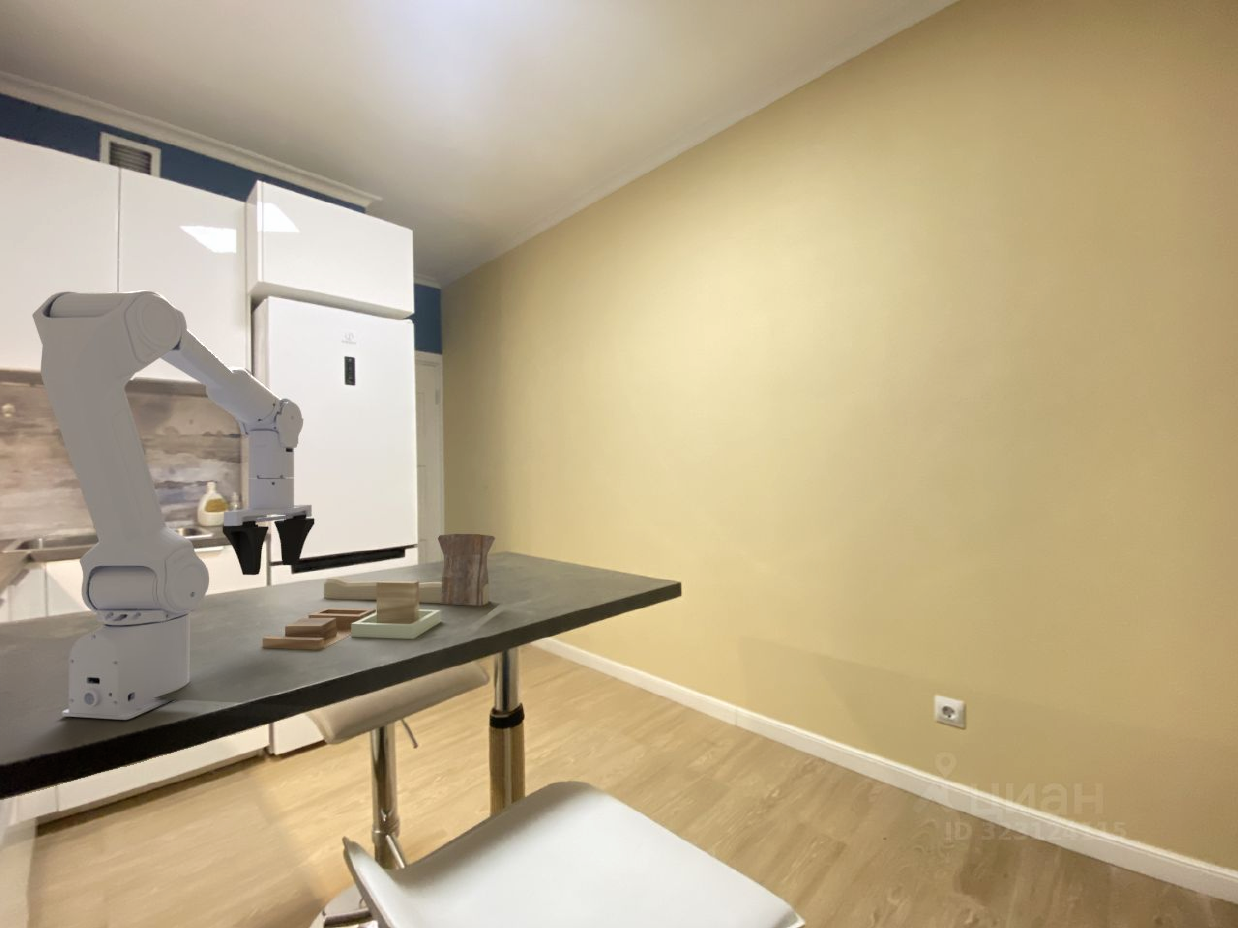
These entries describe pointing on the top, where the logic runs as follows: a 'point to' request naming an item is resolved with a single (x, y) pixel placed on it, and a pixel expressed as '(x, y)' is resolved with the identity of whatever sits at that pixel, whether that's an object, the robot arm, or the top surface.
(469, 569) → the hand axe
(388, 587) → the upright wooden block
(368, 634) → the tray
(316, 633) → the offcut top
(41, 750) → the top surface
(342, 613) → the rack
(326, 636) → the offcut low
